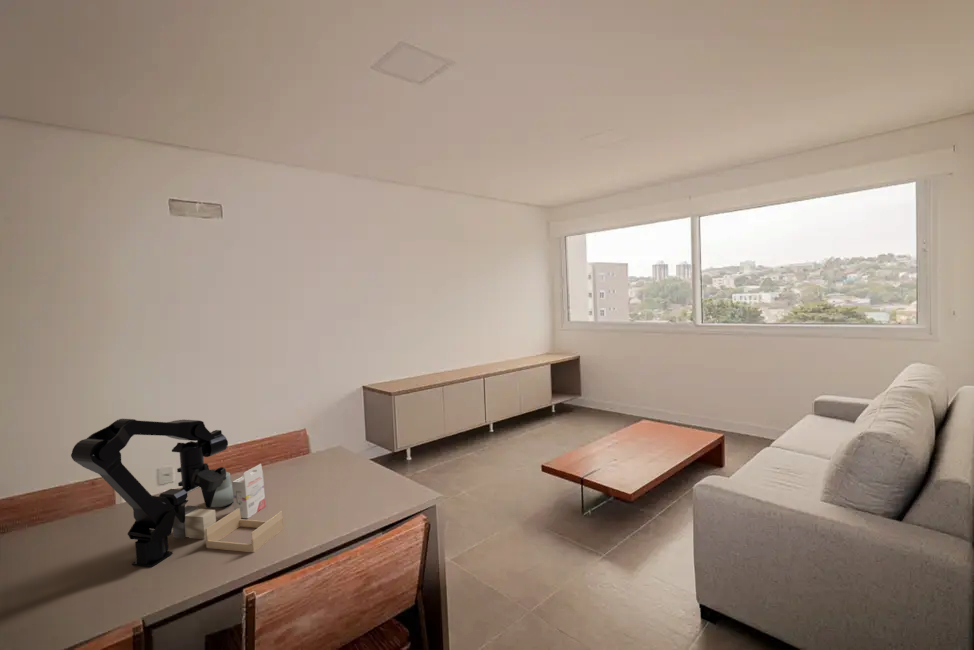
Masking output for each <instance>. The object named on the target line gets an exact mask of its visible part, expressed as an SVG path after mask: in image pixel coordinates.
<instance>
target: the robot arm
mask: <svg viewBox="0 0 974 650" xmlns="http://www.w3.org/2000/svg"><path fill="white" fill-rule="evenodd" d="M136 435H137V436H165V437H168V438H171V439H175V440H179V441H181V440H182V441H188V442H185V443H184V442H177V444H176V445H175V446H174V447H173V448H172V449H171V452H172V453H179V461H180V466H179V467H178V468H177V469H176V472H177V473H180V474H181V475H180V476H181V481H179V482H178V483H177V484H178V487H181V488H170V489H168V490H166V491H162V493H160V494H159V495H158V496H157V495H152V494H151V493H150V492H149V490H147V489H146V488H145V487H144V486H143V484H141V482H140V481H139V480H138V479H136V477H135V476H134V475H133V473H131V471H130V470H128V468H127V467H125V465H124V464H123V462H122V453H121V451H122V450H123V449H124V448H125V447H126V446H127V444H128V443H129V441H130V440H131V438H132V437H134V436H136ZM228 446H229V442H228V439H227V438H226V436H225V435H224V434H223V431H222V430H220V429H216V430H215V429H214V430H212V431H210V430H209V429H207V427H206V425H205V422H204V421H202V420H198V419H177V420H171V421H167V422H166V421H152V420H151V421H150V420H137V419H134V418H119V419H117V420H115V421H114V422H112V423H110V424H109V425H107V426H106V427H104V428H102V429H100V430H98V431H95V432H94V433H92V434H91V435H89V436H88V437H86V438H84V439H81V440H79V441H78V442H77V443H76V444H74V446H73V448H72V451H71V454H70V457H71V459H72V461H74V462H75V463H77V464H78V465H80V466H81V467H83V468H85V469H87V470H89V471H91V472H93V473H96V474H97V475H99V476H100V477H101V478H102V479H104V481H105V482H106V483H107V484H108V485H109V486H110V487H111V488H112V489H113V490H114V491H115V492H116V493H117V495H119V496H120V497H121V498H122V500H124V501H125V502H126V503H127V504H128V505H129V506H130V507H131V508H132V510H133V512H132V513H133V518H134V522H133V524H132V526H131V527H130V528H129V530H128V532H127V536H128V538H129V540H135V542H134V546H135V556H136V557H135V558H136V559H135V560H134V561H132V562H131V565H132V566H140V567H148V568H152V567H154V566H155V565H157V564H159V563H160V562H162V561H163V560H165V559H167V558H168V557H170V556H171V555H172V554H173V550H172V551H171V550H169V538H168V536H170V535H172V533H173V523H174V519H175V515H176V517H177V518H178V519H179V521H180V522H181V523H184V522H185V507H186V504H187V503H188V502H189V500H187V498H188V494H189V493H191V492H193V491H195V490H196V489H198V488H201V493H202V497H203V501H204V504H205V508H206V509H210V508H212V507H211V504H212V501H213V497H214V494H215V491H216V489H217V487H220V486H221V484H222V483H223V480H225V479H226V472H227V470H226V468H225V467H223V466H220V467H218V468H216V469H210V467H209V464H208V463H205V460H204V457H205V458H208V457H209V458H210V457H211V456H214V455H216V454H220V453H221V452H224V451H226V450H227V448H228Z"/></svg>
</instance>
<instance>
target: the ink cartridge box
mask: <svg viewBox="0 0 974 650" xmlns="http://www.w3.org/2000/svg"><path fill="white" fill-rule="evenodd" d="M231 484H232V489H233V500H234V502H233V511H235V510H236V509H238V508H240V514H241V519H249V518H251V517H253V516H254V515H255V514H256V513H259V511H261V510H262V509H264V508H265V507H266V497H265V483H264V471H263V467H262V463H259V464H257V465H256V466H253V467H252V468H250V469H248V470H246V471H244V472H243V475H242V476H241V477H239V478H237V479H234V480H233V481H231Z"/></svg>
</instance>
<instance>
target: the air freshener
mask: <svg viewBox="0 0 974 650" xmlns="http://www.w3.org/2000/svg"><path fill="white" fill-rule="evenodd" d="M231 479H232V478H231V473H230V472H229V471H226V479H225V480H223V483H222V484H221V486H220V487H217V489H216V491H215V494H214V497H213V501H212V504H211V507H210V508H213V509H216V508H223V507H227V506H229V505H231V504H232V503H233V504H234V500H233V489H232V480H231Z"/></svg>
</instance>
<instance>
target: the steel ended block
mask: <svg viewBox="0 0 974 650" xmlns="http://www.w3.org/2000/svg"><path fill="white" fill-rule="evenodd" d="M216 516H217V515H216V509H210V508H206V509H205V508H199V506H197V505H185V522H184V523H181V522H180V521H179V519H178V518H177V517H176V515H175V519H174V523H173V528H172V534H173V535H172V536H173V538H174V537H177V538H176V539H183V538H184V539H186V538H185V537H189V538H188V539H199V540H206V528H207V527H209V526H211V525H212V524H214V523H215V522H217V517H216Z"/></svg>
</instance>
